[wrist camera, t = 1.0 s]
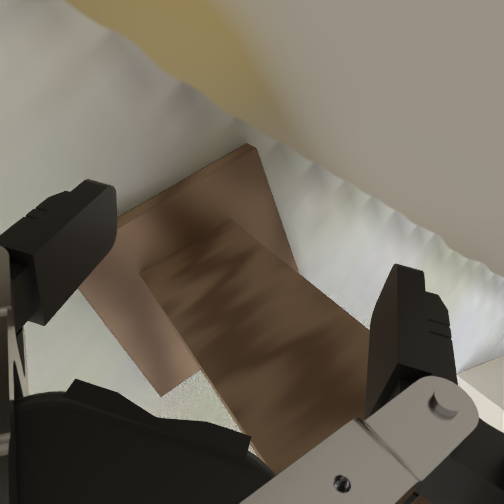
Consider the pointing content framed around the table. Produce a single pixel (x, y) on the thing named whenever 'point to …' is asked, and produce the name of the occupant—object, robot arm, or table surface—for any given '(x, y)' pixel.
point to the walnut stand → (232, 310)
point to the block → (486, 390)
